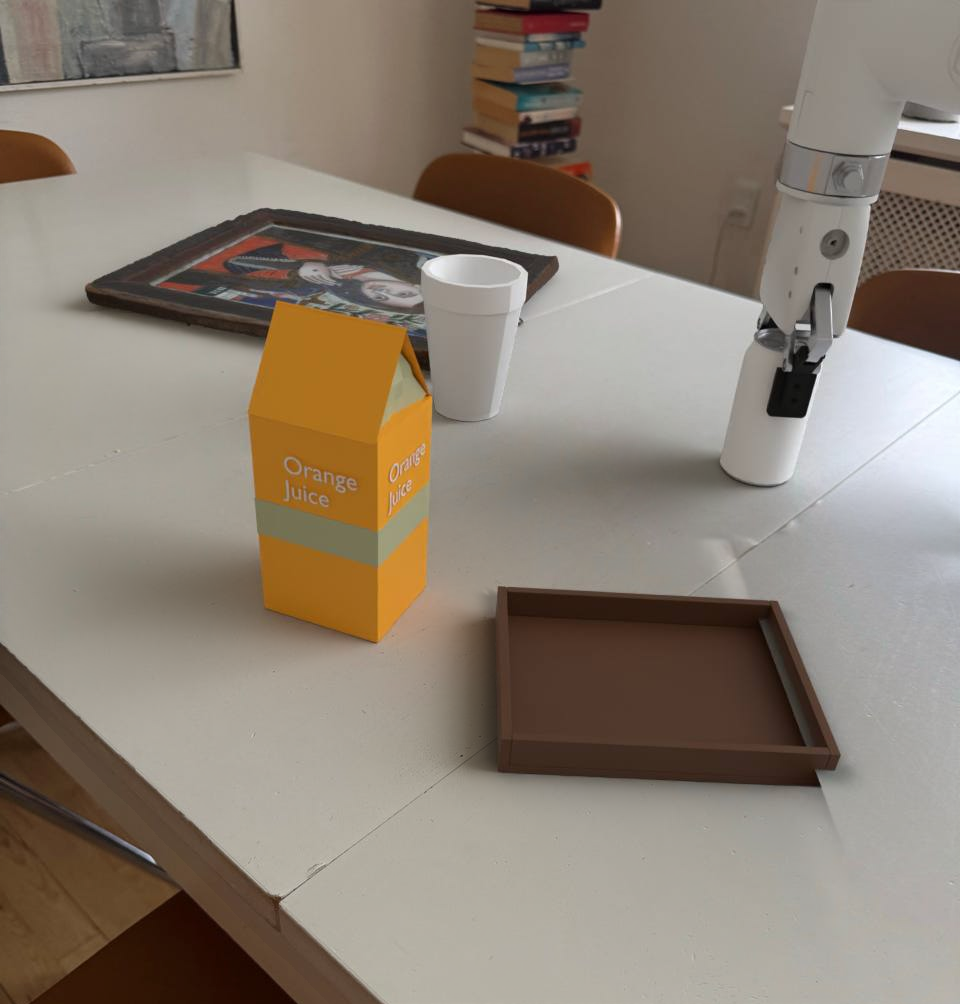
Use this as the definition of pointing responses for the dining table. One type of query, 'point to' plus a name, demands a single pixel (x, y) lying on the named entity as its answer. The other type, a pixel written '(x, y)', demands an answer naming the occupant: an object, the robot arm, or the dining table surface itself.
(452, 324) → the foam cup
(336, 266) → the framed picture
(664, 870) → the dining table surface
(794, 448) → the can
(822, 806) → the dining table surface
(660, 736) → the serving tray
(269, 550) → the orange juice
